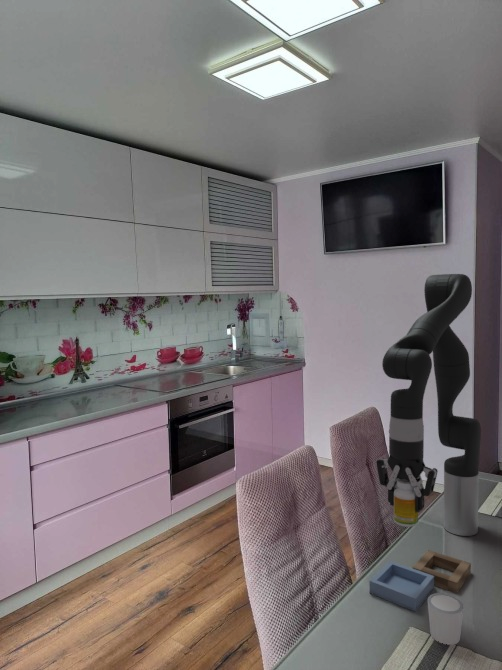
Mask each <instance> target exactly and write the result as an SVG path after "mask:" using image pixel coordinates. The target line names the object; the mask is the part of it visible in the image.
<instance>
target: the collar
mask: <svg viewBox="0 0 502 670" xmlns="http://www.w3.org/2000/svg"><path fill="white" fill-rule="evenodd" d="M471 565H472V563H471V562H468V561H465V560H461V559H459V558H456V557H452V556H449V555H445V554H443V553H440V552H437V551H434V550H430V549H427V550H426V552H425V553H424V554H423V555H422V556H421V558H420V559H418V561H417V562H416V563H415V564H414V565H413V566H412V567H411V568H413V569H415V570H418V571H421V572H424V573H427V574H430V575H433V576H434V587H435V586H436V587H439V588H442V589H444V590H447V591H449V592H452V593H455V594H457V593H458V591H460V589H461V587H463V585H464V583H465V582H466V581H467V579H468V578H469V576H470V575H471V573H472V571H471V570H472V566H471ZM433 566H435V567H439V568H441V569H444V570H447V571H450V572H453V573H452V574H451V575H449V574H446V573H443V572H441V571H437V570H435V569H432V567H433Z"/></svg>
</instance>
